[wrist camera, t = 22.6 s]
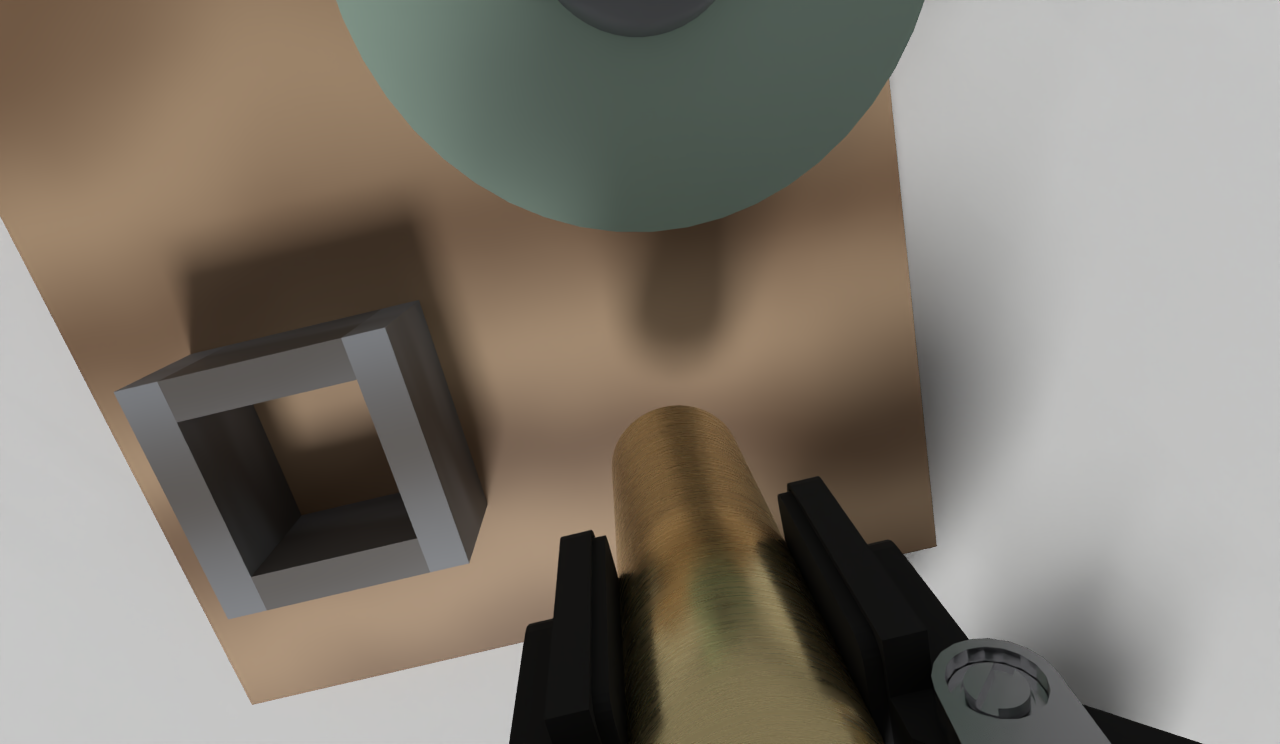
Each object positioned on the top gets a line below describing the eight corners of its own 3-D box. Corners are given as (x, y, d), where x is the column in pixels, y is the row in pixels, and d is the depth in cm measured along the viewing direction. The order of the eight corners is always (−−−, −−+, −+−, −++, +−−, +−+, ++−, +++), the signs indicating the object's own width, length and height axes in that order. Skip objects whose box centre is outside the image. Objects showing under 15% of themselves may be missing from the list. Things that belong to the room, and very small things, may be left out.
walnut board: (913, 519, 23) (998, 617, 18) (275, 668, 23) (190, 802, 18) (809, -400, 15) (906, -654, 10) (-135, -166, 15) (-461, -309, 11)
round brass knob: (769, 516, 16) (1303, 1624, 4) (616, 552, 16) (681, 1762, 4) (740, 371, 15) (1375, 1312, 3) (575, 411, 15) (499, 1508, 3)
